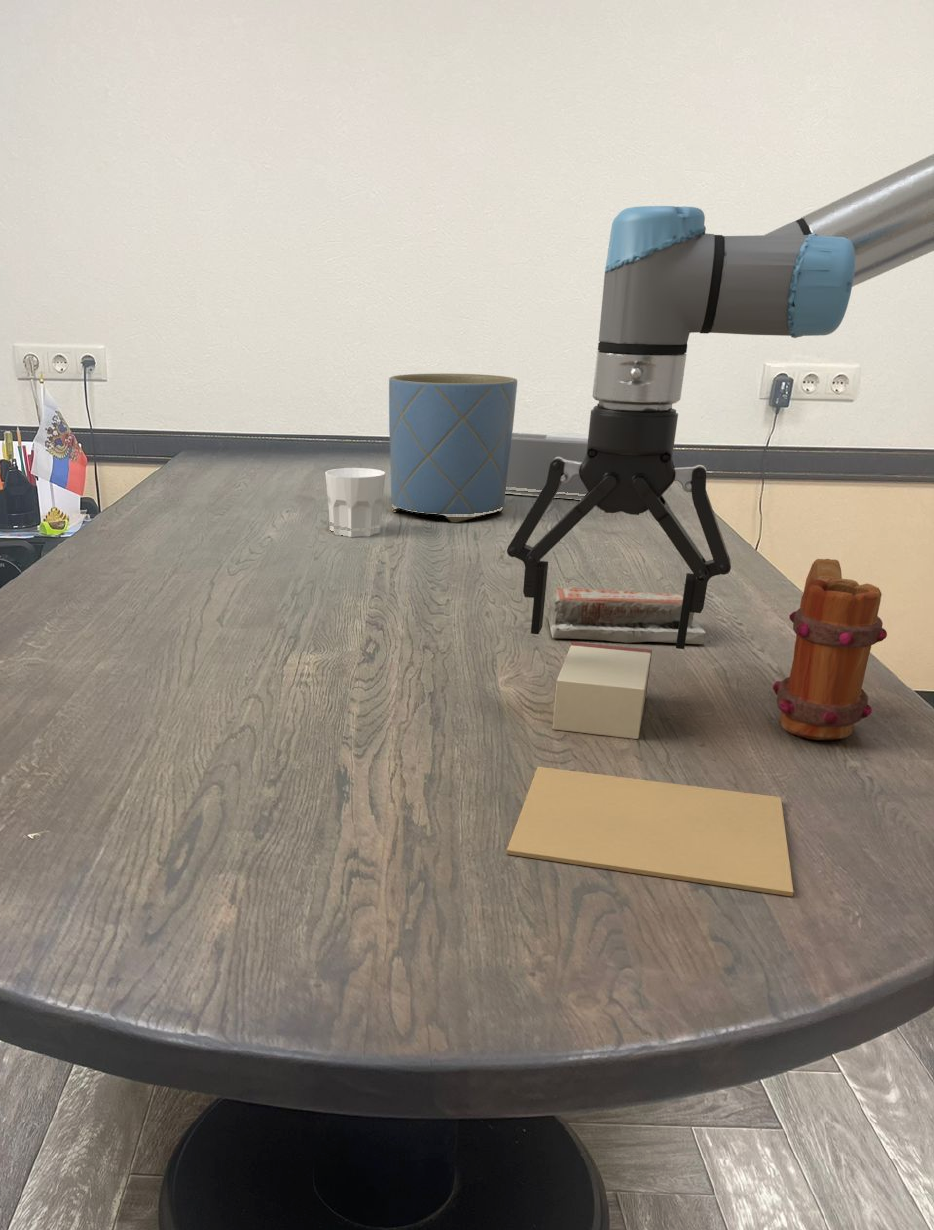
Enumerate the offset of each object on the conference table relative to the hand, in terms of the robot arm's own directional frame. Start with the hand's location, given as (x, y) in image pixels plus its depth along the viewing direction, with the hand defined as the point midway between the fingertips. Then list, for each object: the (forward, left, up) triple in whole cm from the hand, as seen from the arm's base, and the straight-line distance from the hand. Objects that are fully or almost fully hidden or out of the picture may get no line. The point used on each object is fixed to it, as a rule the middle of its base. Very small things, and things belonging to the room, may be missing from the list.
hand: (607, 637), depth 104 cm
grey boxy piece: (0, -29, -8) cm, 30 cm away
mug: (-20, -4, -8) cm, 22 cm away
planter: (+37, -97, -8) cm, 104 cm away
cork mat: (-6, +24, -8) cm, 26 cm away
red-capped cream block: (0, 0, -8) cm, 8 cm away
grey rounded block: (+24, -122, -8) cm, 125 cm away
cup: (+48, -74, -8) cm, 88 cm away
